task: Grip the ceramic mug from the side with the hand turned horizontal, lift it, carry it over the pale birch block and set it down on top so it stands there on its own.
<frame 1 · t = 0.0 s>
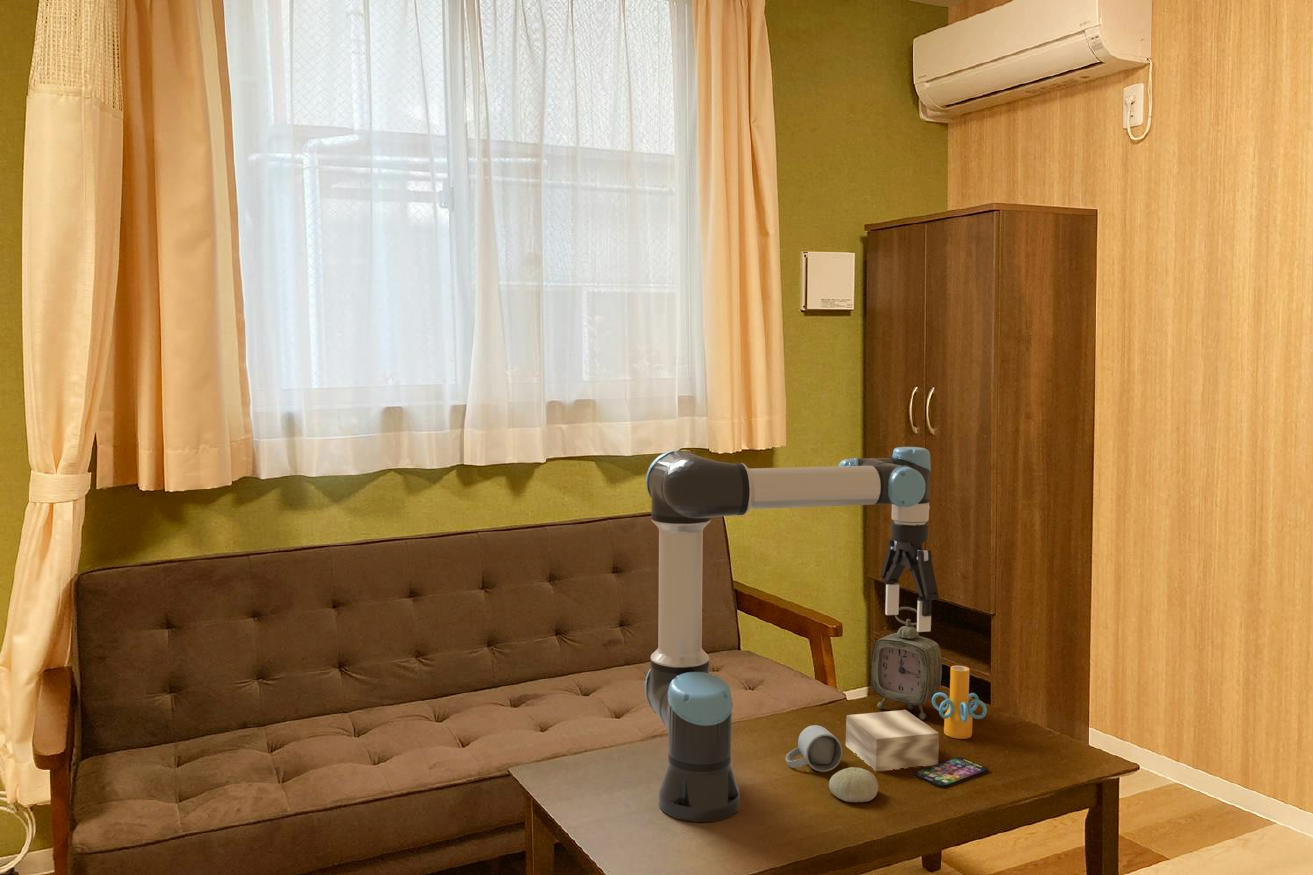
hand: (907, 622, 215), 28 cm above the table, tool pointing down, fingers open, 13 cm apart
sea urchin shell: (854, 796, 196), on the table
tabletop clock: (906, 712, 242), on the table
birch block: (890, 756, 216), on the table
ring toss post: (958, 735, 228), on the table
ceramic mug: (812, 766, 210), on the table
smartphone: (950, 776, 207), on the table
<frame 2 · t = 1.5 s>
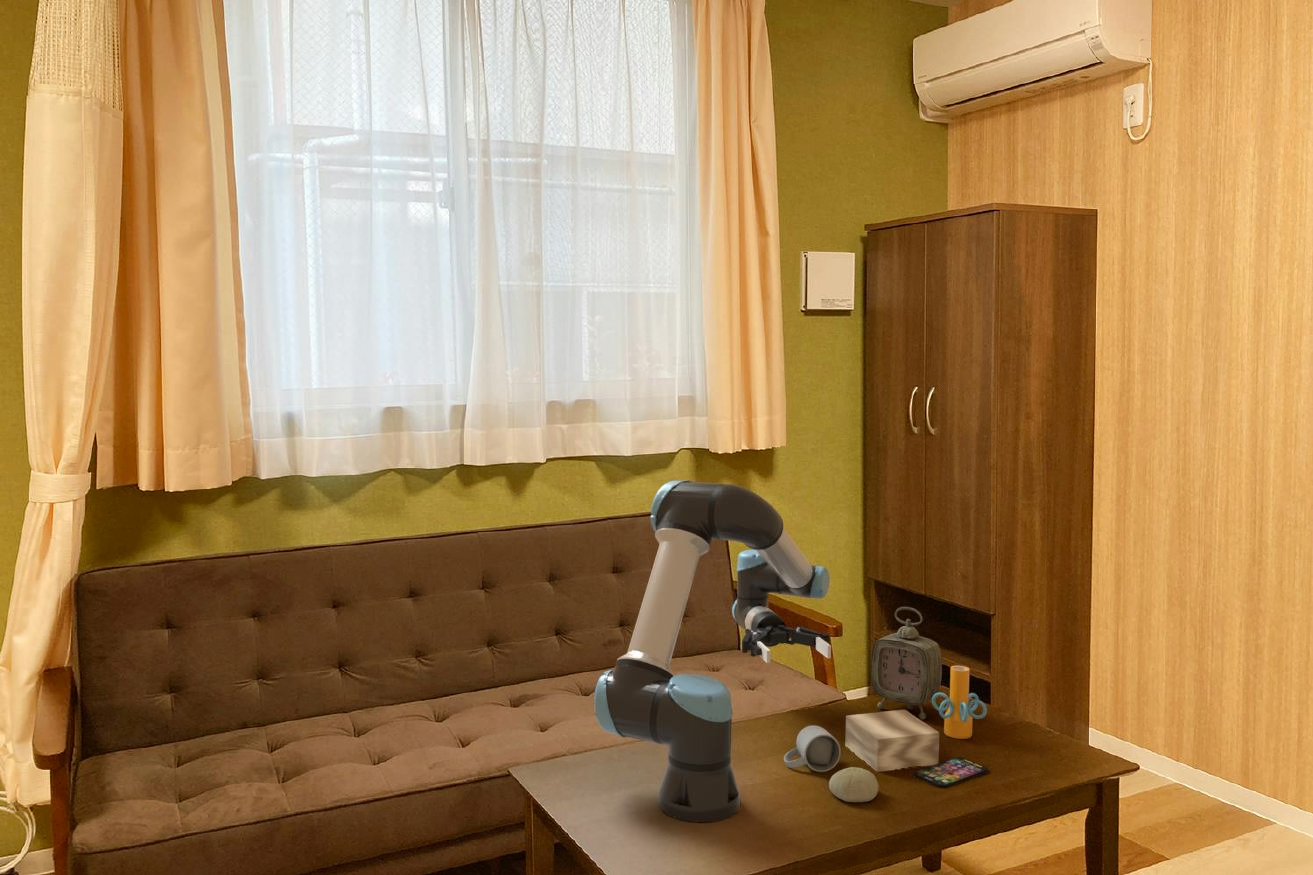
hand: (799, 654, 217), 20 cm above the table, tool horizontal, fingers open, 13 cm apart
nothing on the table moved.
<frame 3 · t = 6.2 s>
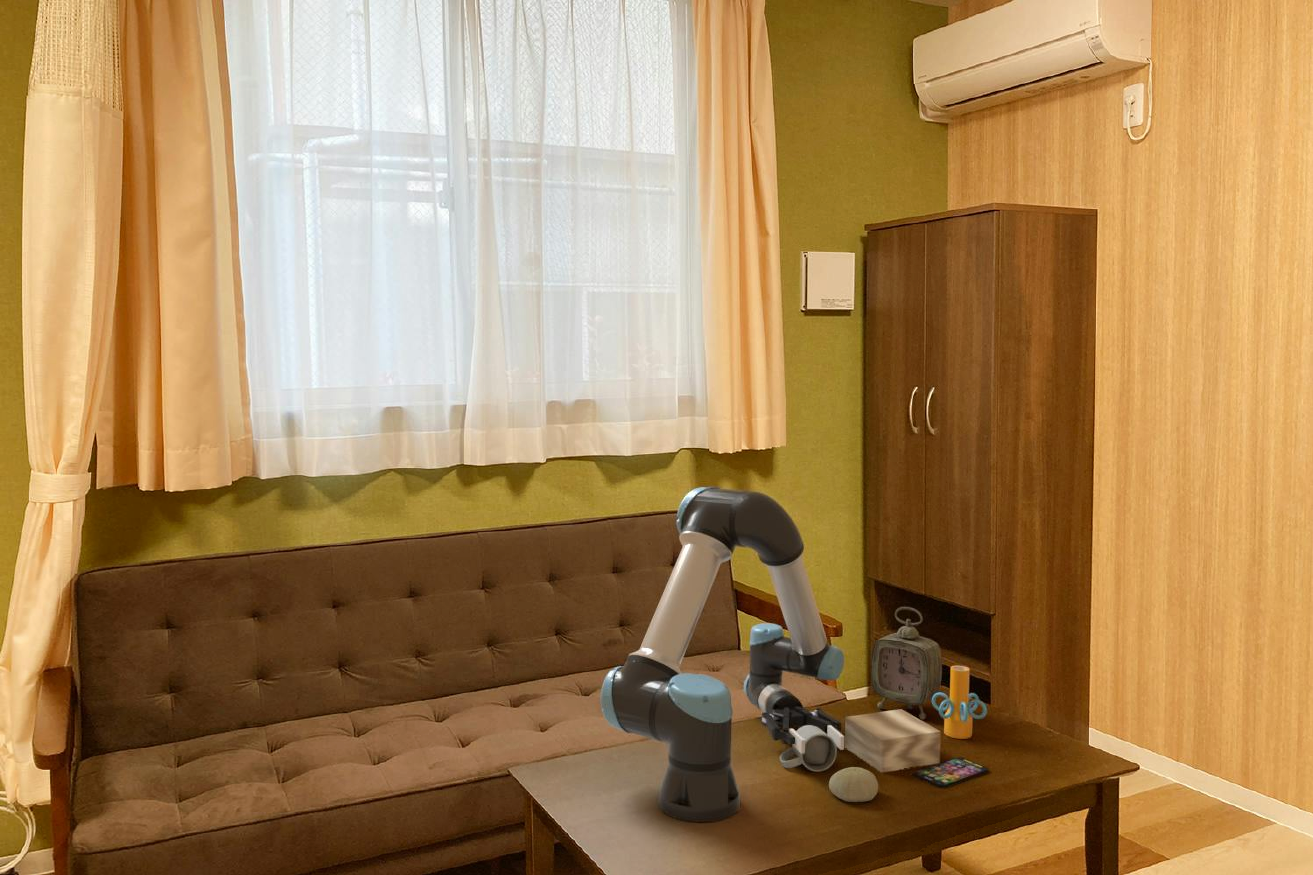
hand: (822, 744, 205), 6 cm above the table, tool horizontal, fingers closed on ceramic mug, 8 cm apart
ceramic mug: (806, 766, 210), on the table, touching gripper
everything else where it was.
when the fingers open (14 cm above the table, at t = 10.7 s): ceramic mug drops 2 cm, resting on birch block.
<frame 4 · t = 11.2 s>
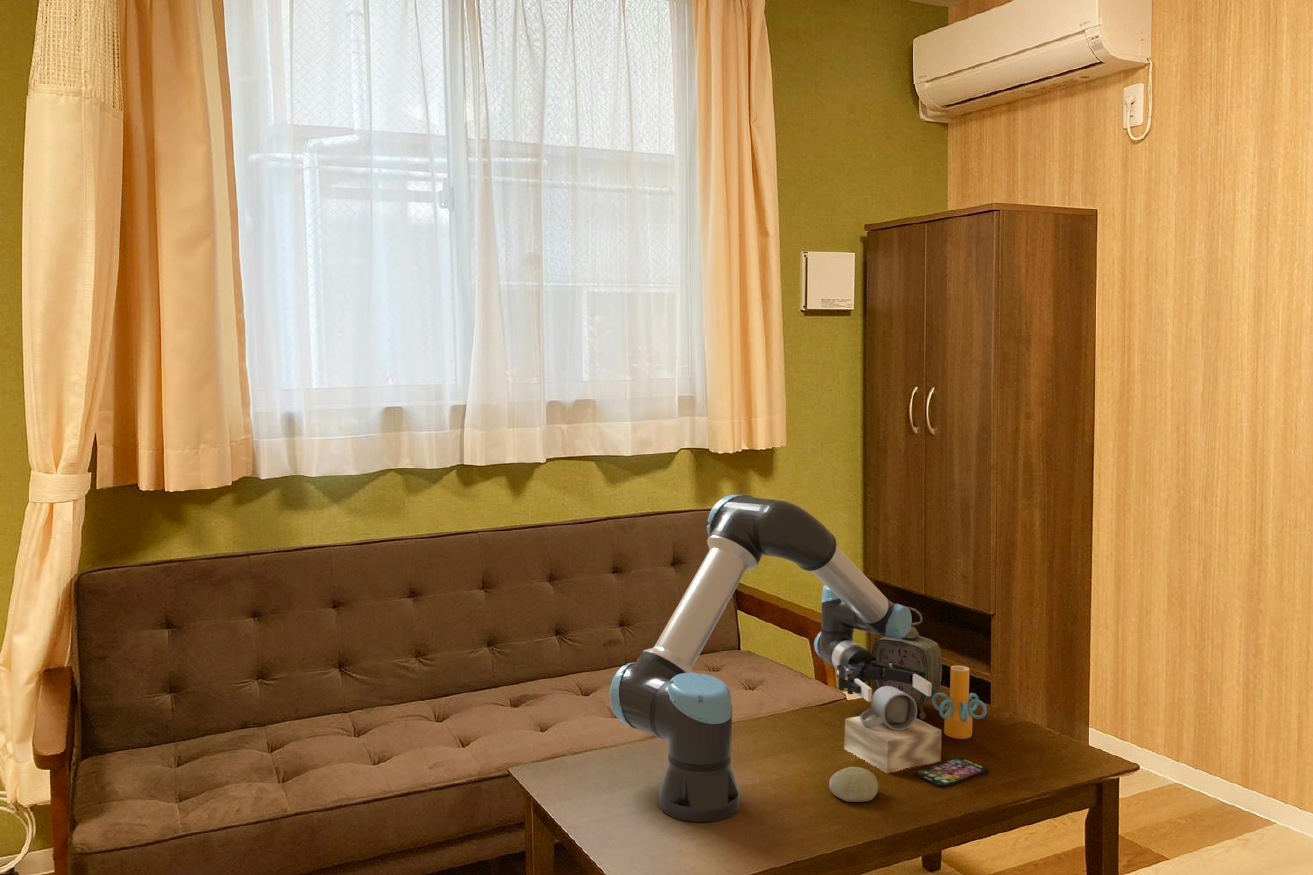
hand: (900, 692, 211), 14 cm above the table, tool horizontal, fingers open, 13 cm apart
birch block: (891, 756, 216), on the table, touching ceramic mug
ceramic mug: (886, 725, 215), point 6 cm above the table, touching birch block
everything else where it was.
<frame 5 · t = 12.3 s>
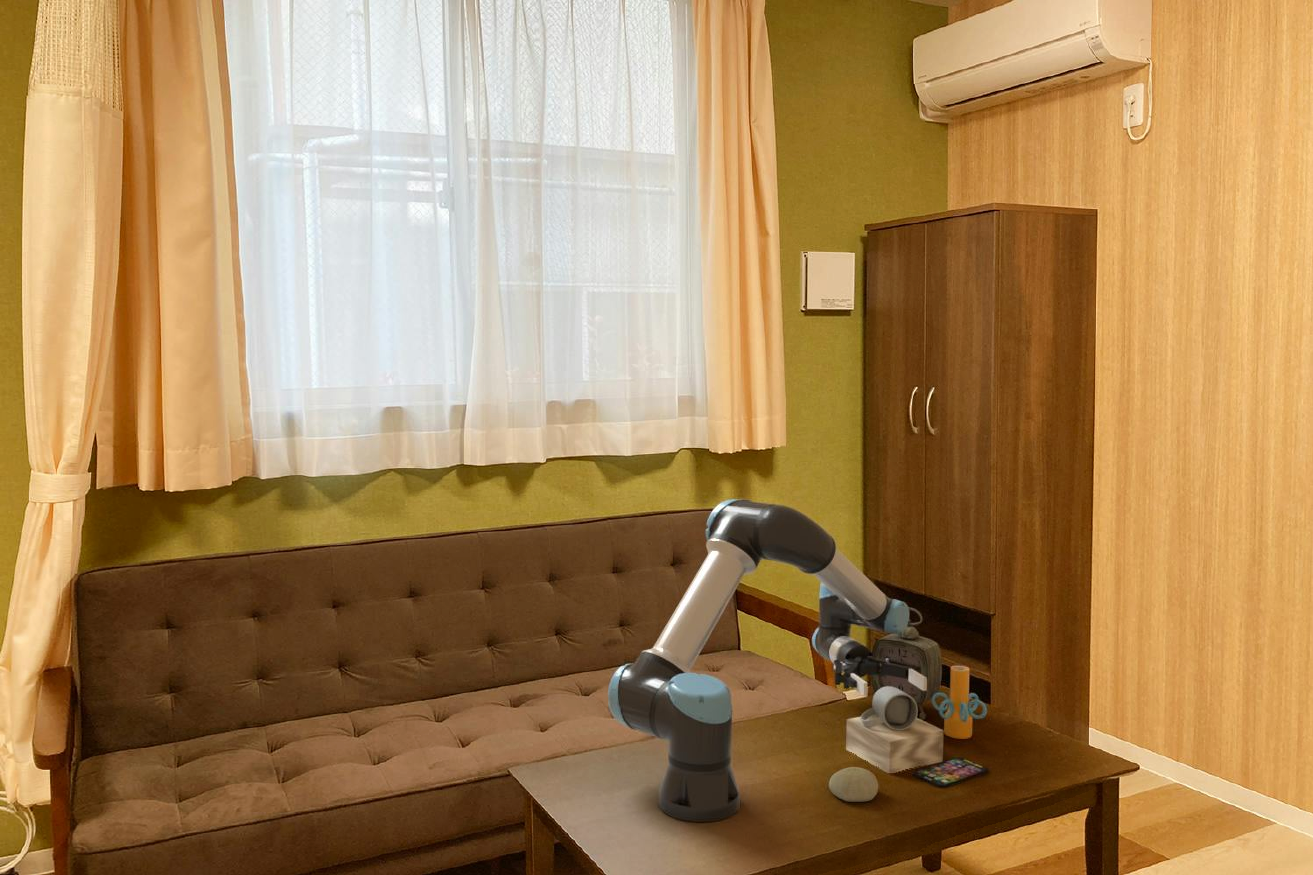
hand: (895, 686, 214), 15 cm above the table, tool horizontal, fingers open, 13 cm apart
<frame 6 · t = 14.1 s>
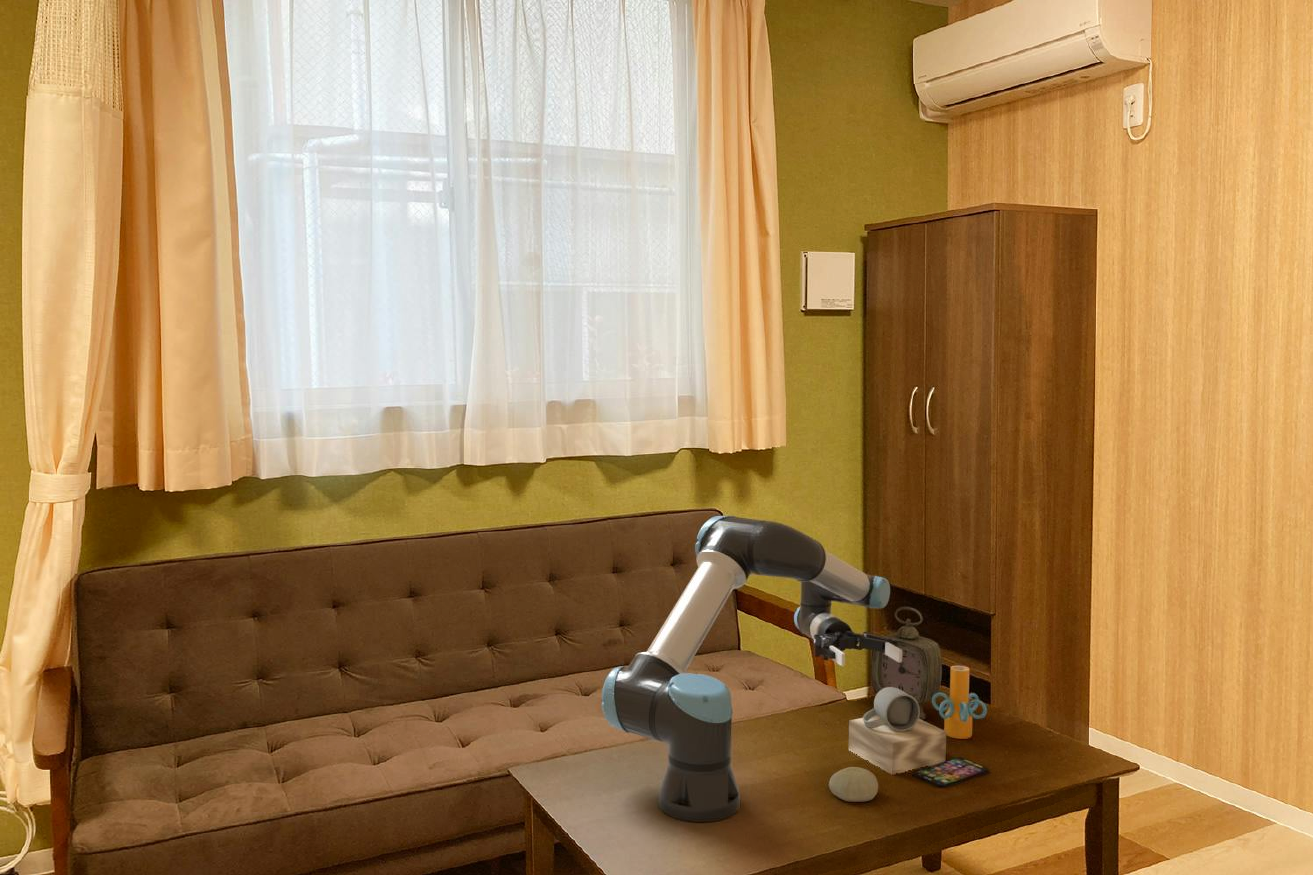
hand: (872, 658, 224), 18 cm above the table, tool horizontal, fingers open, 13 cm apart
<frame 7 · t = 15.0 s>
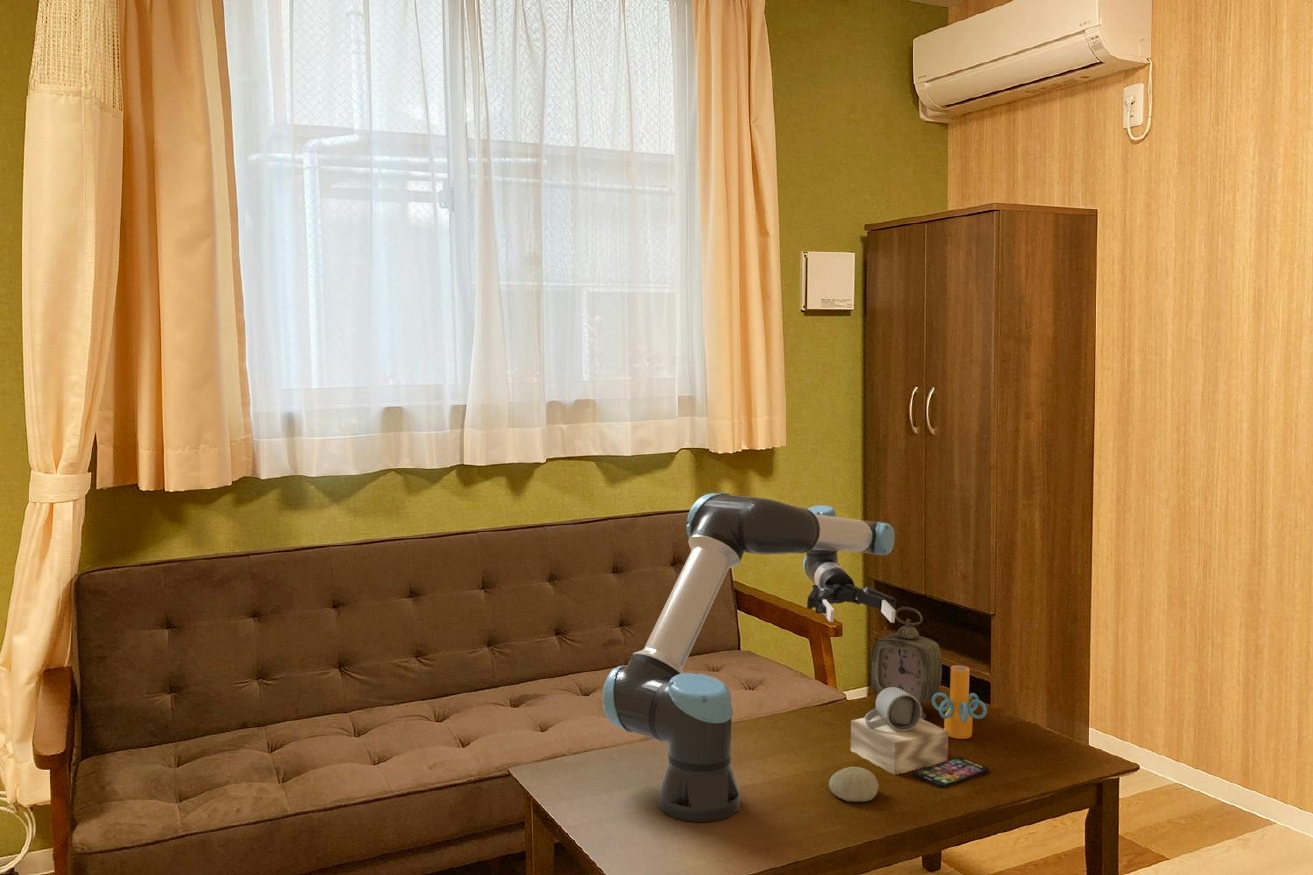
hand: (862, 616, 220), 28 cm above the table, tool horizontal, fingers open, 13 cm apart
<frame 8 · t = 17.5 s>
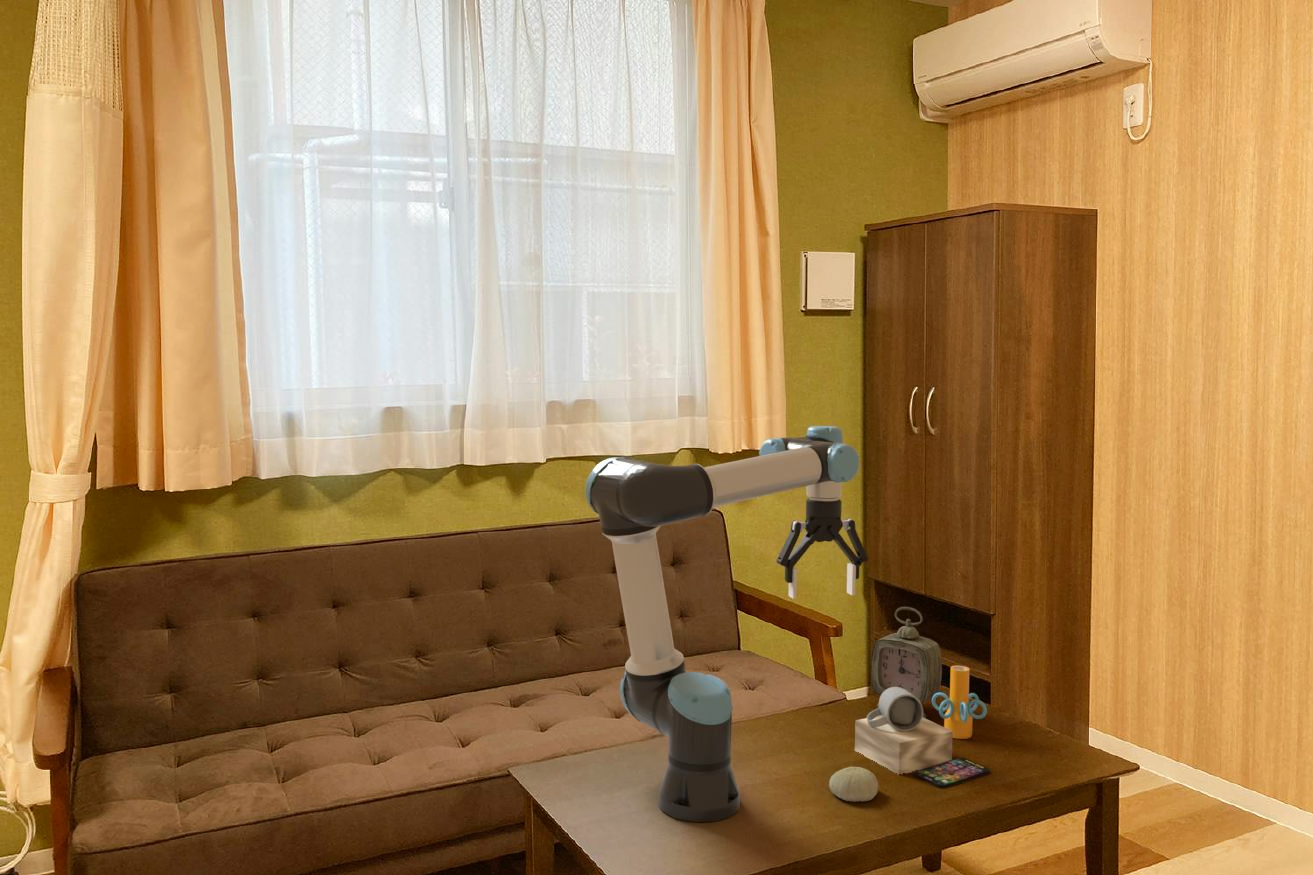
hand: (821, 595, 222), 32 cm above the table, tool pointing down, fingers open, 13 cm apart
birch block: (902, 758, 215), on the table
ceramic mug: (893, 726, 215), point 6 cm above the table
everything else where it was.
at the end: ceramic mug inside the target area on the birch block (2.2 cm from its centre), point 6.8 cm above the birch block's base; ceramic mug tilted 0°; ceramic mug touching birch block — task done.
